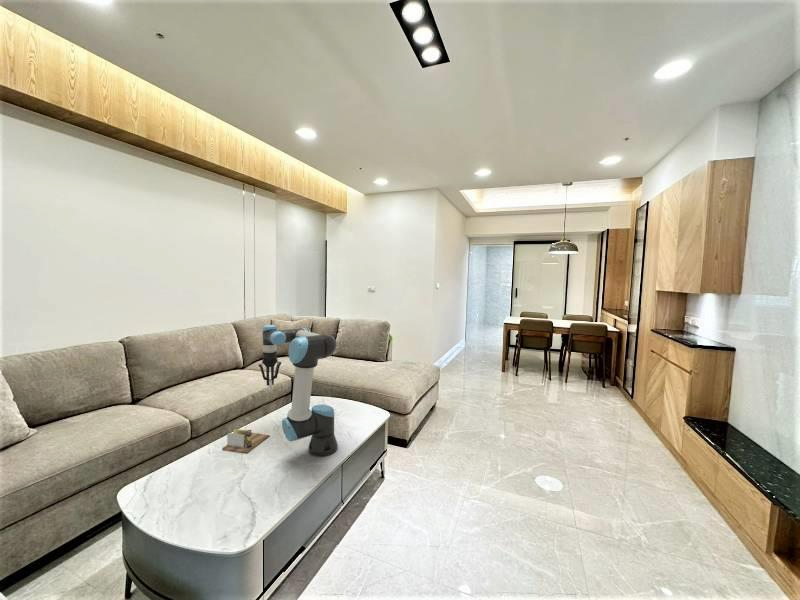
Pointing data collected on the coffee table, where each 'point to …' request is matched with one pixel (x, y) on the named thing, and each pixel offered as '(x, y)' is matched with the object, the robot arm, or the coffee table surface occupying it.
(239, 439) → the fixed leaf
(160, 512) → the coffee table surface
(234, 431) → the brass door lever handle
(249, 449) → the walnut board
